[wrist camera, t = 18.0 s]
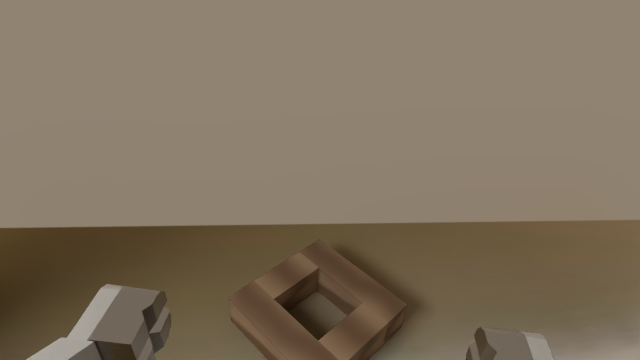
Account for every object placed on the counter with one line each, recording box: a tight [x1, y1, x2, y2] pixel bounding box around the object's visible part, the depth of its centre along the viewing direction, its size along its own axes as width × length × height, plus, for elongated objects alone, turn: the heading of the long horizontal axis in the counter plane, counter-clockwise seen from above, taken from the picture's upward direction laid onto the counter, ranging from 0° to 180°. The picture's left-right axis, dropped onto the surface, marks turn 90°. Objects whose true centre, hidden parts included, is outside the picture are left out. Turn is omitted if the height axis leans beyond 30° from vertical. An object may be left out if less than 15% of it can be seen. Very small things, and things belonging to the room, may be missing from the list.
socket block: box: [229, 239, 407, 360], centre depth 47 cm, size 14×14×4 cm
